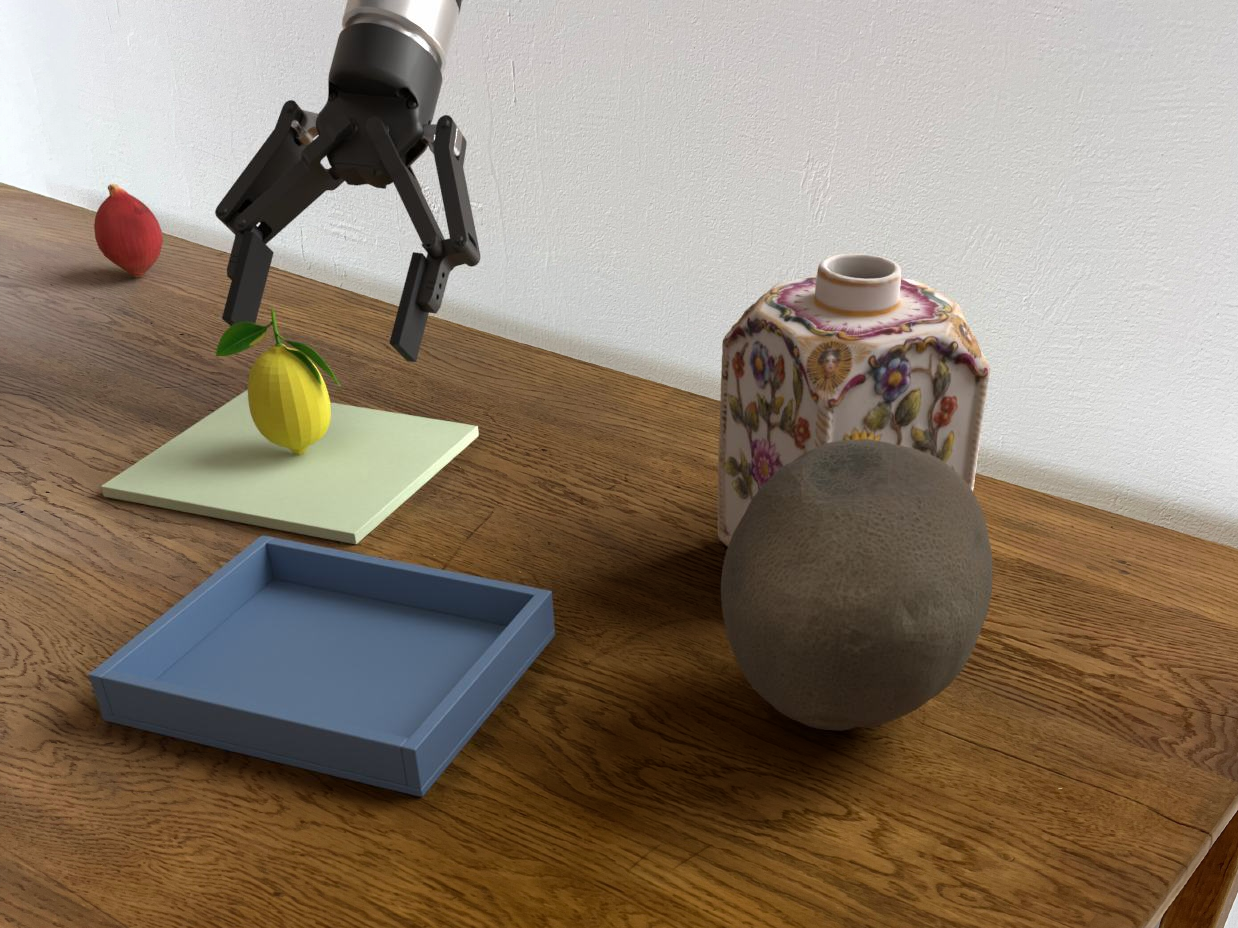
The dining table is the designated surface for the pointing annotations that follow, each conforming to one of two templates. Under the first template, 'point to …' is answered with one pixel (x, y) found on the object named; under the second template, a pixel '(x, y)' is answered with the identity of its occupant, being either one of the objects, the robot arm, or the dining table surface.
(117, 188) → the onion
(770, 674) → the cantaloupe
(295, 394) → the lemon
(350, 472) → the mat
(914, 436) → the decorative jar
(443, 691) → the tray
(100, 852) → the dining table surface
